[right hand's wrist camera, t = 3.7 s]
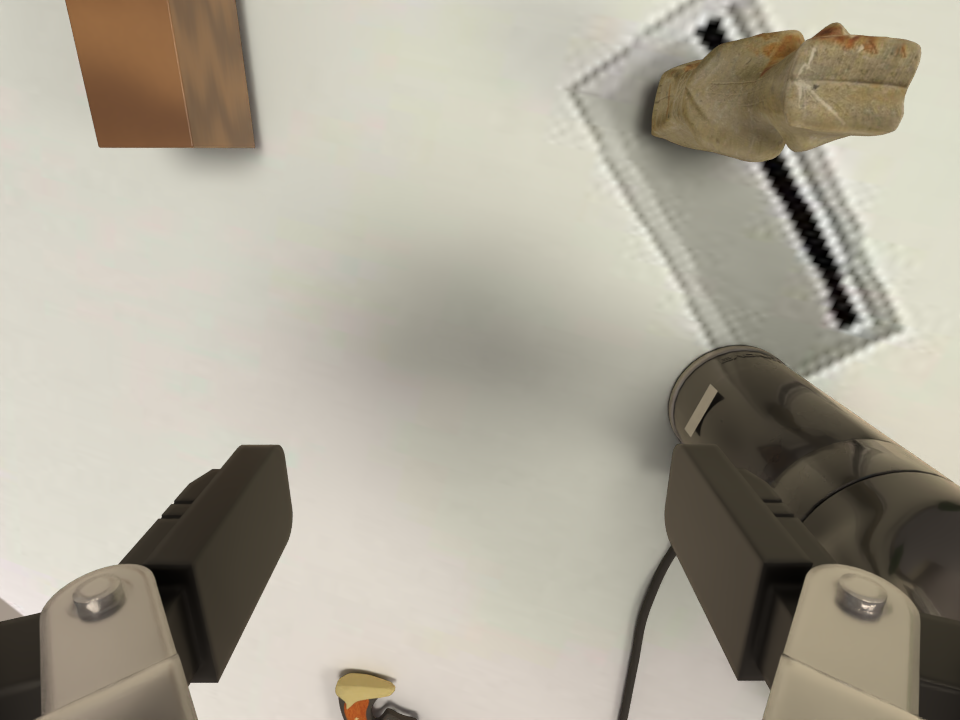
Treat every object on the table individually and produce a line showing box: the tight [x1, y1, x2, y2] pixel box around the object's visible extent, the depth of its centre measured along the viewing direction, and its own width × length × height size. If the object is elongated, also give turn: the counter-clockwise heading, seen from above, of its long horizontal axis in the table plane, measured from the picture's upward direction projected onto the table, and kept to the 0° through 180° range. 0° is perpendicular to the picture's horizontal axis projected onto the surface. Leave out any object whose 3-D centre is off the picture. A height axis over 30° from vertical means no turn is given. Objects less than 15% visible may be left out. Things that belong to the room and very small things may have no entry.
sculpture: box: [651, 23, 921, 162], centre depth 28 cm, size 6×7×15 cm
